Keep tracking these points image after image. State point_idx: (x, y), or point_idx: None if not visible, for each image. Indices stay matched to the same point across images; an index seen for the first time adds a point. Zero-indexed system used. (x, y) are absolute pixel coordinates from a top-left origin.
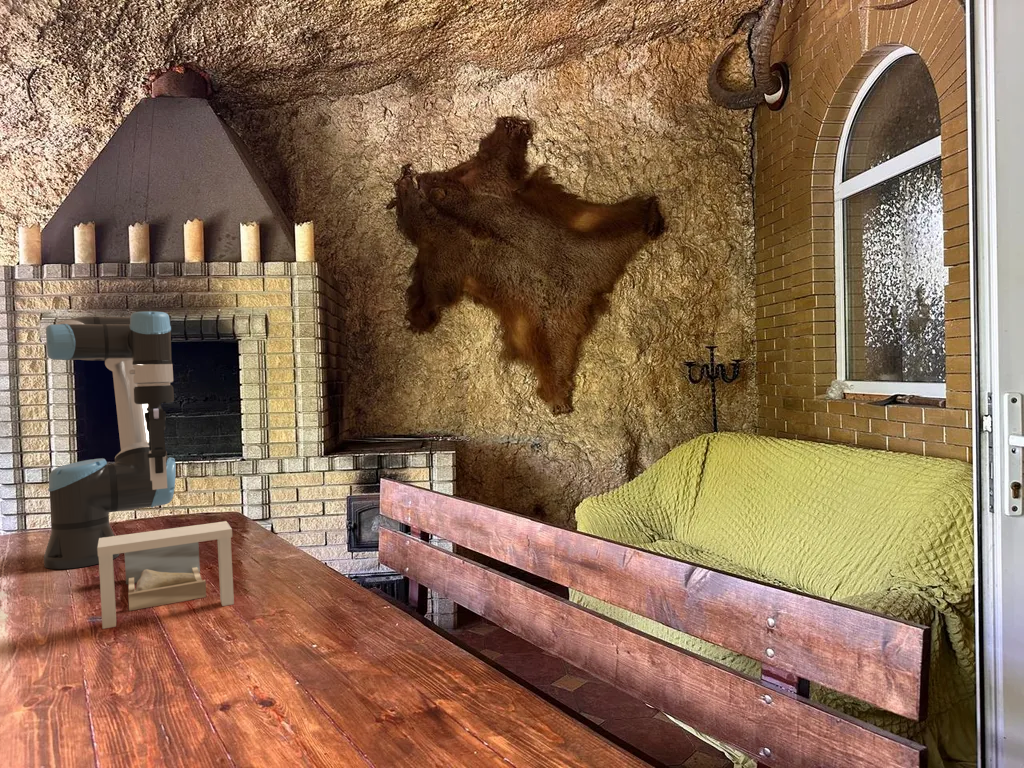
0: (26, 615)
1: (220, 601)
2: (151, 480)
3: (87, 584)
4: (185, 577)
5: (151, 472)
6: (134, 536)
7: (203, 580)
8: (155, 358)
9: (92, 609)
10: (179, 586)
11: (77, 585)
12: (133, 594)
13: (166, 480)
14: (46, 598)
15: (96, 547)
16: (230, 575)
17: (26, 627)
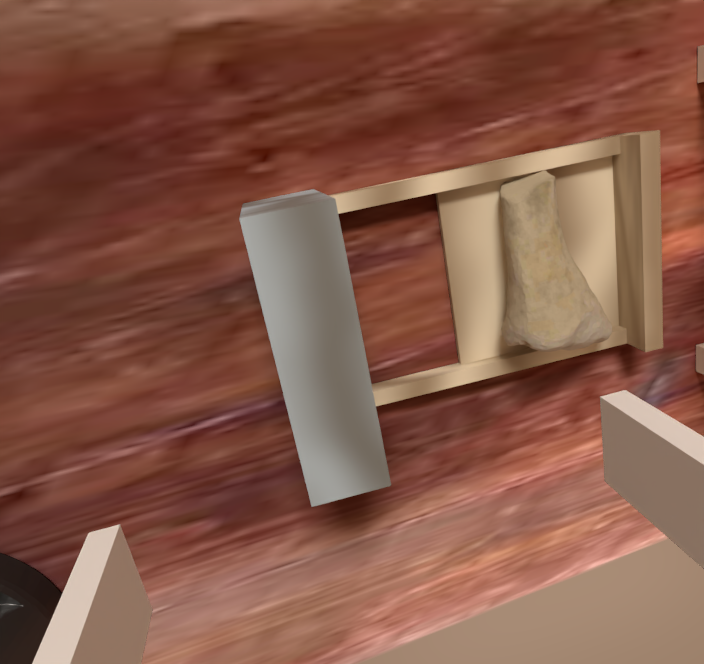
0: (530, 564)
1: (698, 82)
2: (150, 605)
3: (303, 521)
4: (557, 209)
5: (135, 659)
6: None
7: (644, 138)
8: None
9: (565, 430)
10: (659, 212)
11: (301, 544)
12: (661, 334)
13: (664, 418)
14: (401, 575)
15: (10, 624)
16: None
17: (622, 528)
